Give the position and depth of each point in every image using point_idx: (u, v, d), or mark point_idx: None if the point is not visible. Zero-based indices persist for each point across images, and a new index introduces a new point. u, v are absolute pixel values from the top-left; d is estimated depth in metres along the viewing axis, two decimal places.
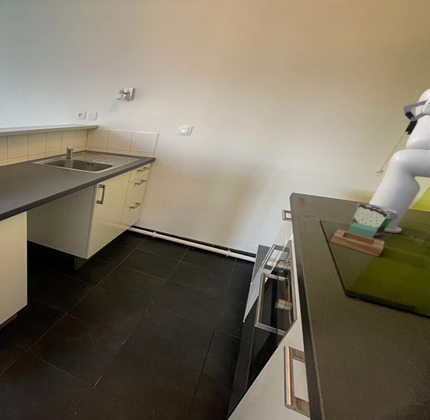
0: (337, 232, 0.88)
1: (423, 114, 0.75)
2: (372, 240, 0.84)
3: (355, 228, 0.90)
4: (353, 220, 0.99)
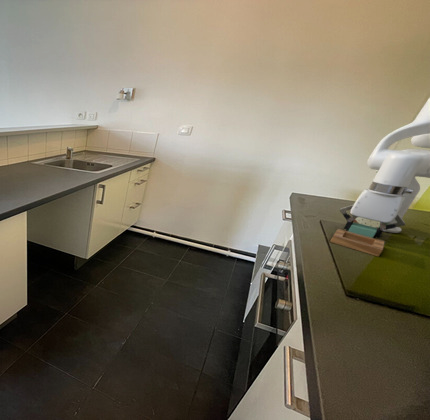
0: (337, 232, 0.88)
1: (354, 217, 0.91)
2: (372, 240, 0.84)
3: (355, 228, 0.90)
4: None
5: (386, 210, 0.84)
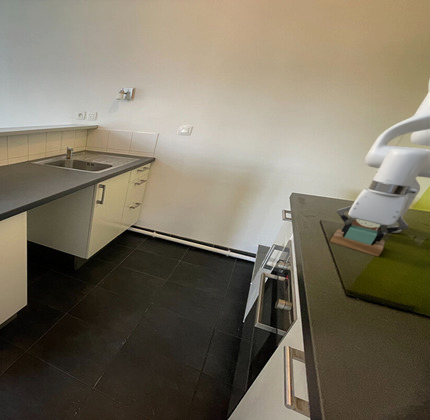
0: (337, 232, 0.88)
1: (353, 219, 0.83)
2: None
3: (354, 231, 0.83)
4: None
5: (387, 212, 0.77)
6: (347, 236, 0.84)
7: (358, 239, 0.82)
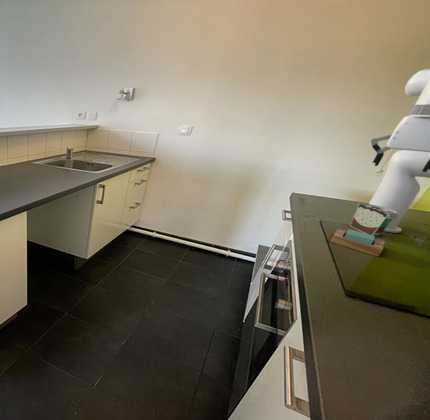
0: (337, 232, 0.88)
1: (388, 148, 0.80)
2: None
3: (351, 236, 0.83)
4: (353, 220, 0.99)
5: None
6: None
7: None
